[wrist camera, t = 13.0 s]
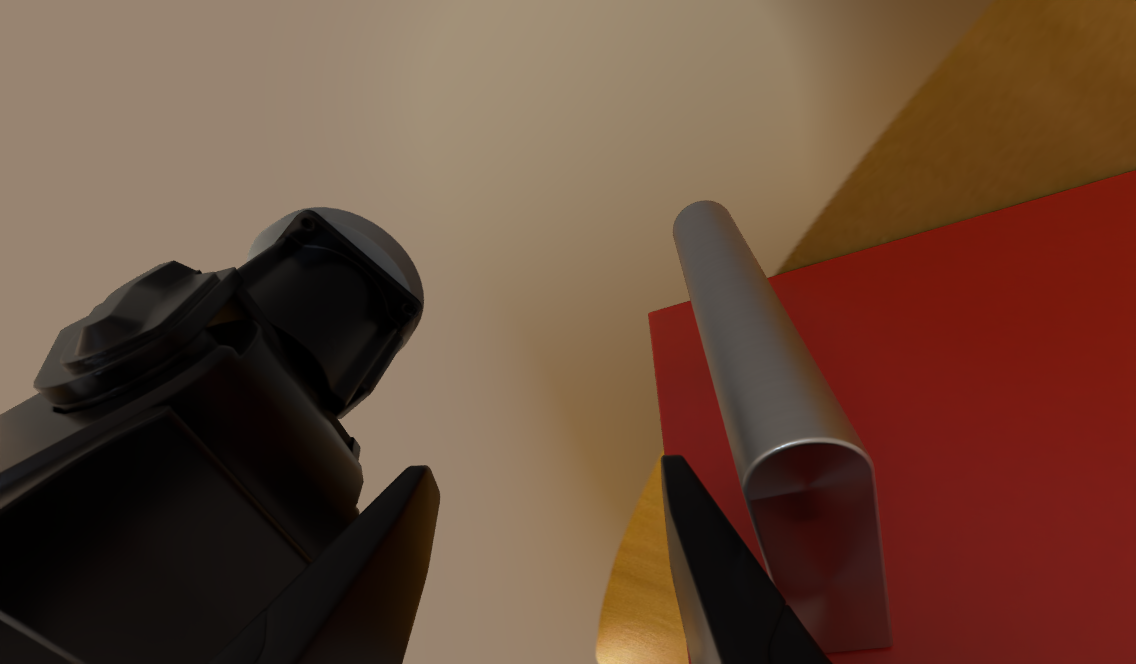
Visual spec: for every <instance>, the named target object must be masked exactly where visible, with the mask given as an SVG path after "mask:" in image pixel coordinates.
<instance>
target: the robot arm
mask: <svg viewBox="0 0 1136 664" xmlns="http://www.w3.org/2000/svg"><path fill="white" fill-rule="evenodd" d="M306 219H309V220H310V221H311V222H312V224H313V226H310V225H309V224H308V223H307V222H306ZM406 304H409V305H411V306H412V307H413V308H414V309H409V308H408V307H407V306H406ZM421 308H422V305H421V302H420V301H419V300H418V299H417V298H416V297H415V296H414V295H413V294H412V293H410V292H409V291H408V290H407V289H406V288H405V287H403V286H402V285H401V284H400V283H399V282H397V281H396V280H395V279H394V278H393V277H392V276H390V275H389V274H388V273H387V272H386V271H385V270H383V269H382V268H381V267H380V266H379V265H378V264H376V263H375V262H374V261H373V260H372V259H371V258H369V257H368V256H367V255H366V254H365V253H364V252H362V251H361V250H360V249H359V248H358V247H356V246H355V245H354V244H353V243H352V242H351V241H349V240H348V239H347V238H346V237H345V236H344V235H342V234H341V233H340V232H339V231H338V230H337V229H335V228H334V227H333V226H332V225H331V224H330V223H328V222H327V221H326V220H325V219H324V218H323V217H321V216H320V215H319V214H318V213H316V212H315V211H312V210H304V211H303V212H301V213H300V214H298V215H297V216H296V217H295V218H294V220H293V221H292V222H291V224H290V225H289V226H288V227H287V229H286V230H285V231H284V232H283V234H282V235H281V236H280V237H279V239H278V240H277V241H276V242H275V244H273V245H272V246H270V247H269V248H267V249H266V250H265V251H263V252H262V253H260V254H259V255H257V256H256V257H254V258H253V259H251V260H250V261H248V262H247V263H246V264H244V265H243V266H241V267H240V268H238V269H237V270H236V268H235V267H232V268H229V269H225V270H221V271H217V272H210V273H203V274H202V272H201V271H200V270H197V271H196V270H193V269H191V268H189V267H187V266H185V265H183V264H181V263H178V262H176V261H170V262H167V263H163V264H160V265H158V266H156V267H154V268H152V269H151V270H149V271H147V272H145V273H143V274H142V275H140V276H138V277H136V278H135V279H133V280H131V281H129V282H128V283H126V284H124V285H123V286H121V287H120V288H118V289H117V290H115V291H114V292H113V293H111V294H110V295H109V296H108V297H107V298H106V300H105V301H104V302H103V303H101V304H99V305H98V306H96V307H95V308H94V309H93V311H92V312H91V313H90V315H89V316H87V317H85V318H83V319H81V320H79V321H77V322H75V323H73V324H71V325H69V326H67V327H65V328H64V329H62V330H61V331H60V333H59V335H58V337H57V339H56V340H55V342H54V344H53V346H52V348H51V350H50V352H49V354H48V356H47V358H46V360H45V362H44V363H43V365H42V367H41V369H40V371H39V373H38V375H37V377H36V379H35V381H34V388H35V389H36V390H37V391H38V392H39V393H38V394H37V395H35V396H33V397H31V398H30V399H28V400H26V401H24V402H22V403H21V404H19V405H17V406H15V407H13V408H12V409H10V410H8V411H6V412H5V413H3V414H1V415H0V664H402V663H403V659H404V655H405V652H406V648H407V645H408V641H409V637H410V634H411V631H412V627H413V623H414V620H415V616H416V612H417V609H418V606H419V602H420V598H421V595H422V591H423V588H424V584H425V580H426V576H427V573H428V568H429V562H430V557H431V551H432V545H433V539H434V533H435V527H436V521H437V515H438V509H439V504H440V492H439V489H438V486H437V484H436V481H435V479H434V476H433V474H432V471H431V469H430V468H429V467H428V466H426V465H424V466H422V465H421V466H410V467H408V468H406V469H405V470H404V471H403V472H402V473H401V474H400V475H399V476H398V477H397V478H396V479H395V480H394V481H393V482H392V483H391V484H390V485H389V486H388V487H387V488H386V489H385V490H384V491H383V492H382V493H381V494H380V495H379V496H378V497H377V498H376V499H375V500H374V501H373V502H372V503H371V504H370V505H369V506H368V507H367V508H366V509H365V510H364V511H363V512H362V513H361V514H360V515H359V510H358V508H357V507H356V504H357V503H358V499H359V496H360V492H361V489H362V485H363V475H362V468H361V465H360V463H359V462H358V460H359V454H360V446H359V444H358V443H357V441H356V440H355V439H354V438H353V437H350V436H349V435H348V433H347V432H346V430H345V429H344V428H343V426H342V425H341V423H340V422H339V420H338V419H341V418H343V417H344V416H345V415H346V414H347V413H349V412H350V411H351V410H352V409H353V408H354V407H356V406H357V405H358V404H359V403H360V402H361V401H363V400H364V399H365V398H366V397H367V396H369V395H370V394H371V392H372V391H373V390H374V388H375V387H376V385H377V383H378V382H379V380H380V379H381V377H382V376H383V374H384V372H385V371H386V369H387V368H388V366H389V365H390V363H391V361H392V360H393V358H394V357H395V355H396V354H397V352H398V350H399V349H400V347H401V346H402V344H403V337H402V336H401V335H400V334H398V333H399V332H400V331H401V330H402V329H403V328H404V327H405V326H406V325H407V324H409V323H410V322H411V321H412V320H413V319H414V318H415V317H416V316H417V315H418V314H419V312H420V310H421ZM661 474H662V492H663V502H664V512H665V522H666V531H667V541H668V551H669V559H670V567H671V573H672V578H673V583H674V587H675V592H676V596H677V601H678V605H679V609H680V614H681V618H682V623H683V627H684V632H685V636H686V641H687V645H688V650H689V654H690V659H691V663H692V664H833V663H832V662H831V661H830V659H829V658H828V657H827V656H826V654H825V653H824V652H823V650H822V649H821V648H820V646H819V645H818V644H817V642H816V641H815V640H814V638H813V637H812V636H811V635H810V633H809V632H808V631H807V629H806V628H805V627H804V625H803V624H802V622H801V621H800V620H799V618H798V617H797V615H796V614H795V612H794V611H793V610H792V608H791V607H790V606H789V605H786V600H785V599H784V597H783V596H782V595H781V593H780V592H779V590H778V589H777V587H776V586H775V585H774V583H773V582H772V580H771V579H770V578H769V576H768V575H767V573H766V572H765V571H764V569H763V568H762V566H761V565H760V564H759V562H758V561H757V559H756V558H755V556H754V555H753V554H752V552H751V551H750V549H749V548H748V547H747V545H746V544H745V542H744V541H743V540H742V538H741V537H740V535H739V534H738V533H737V531H736V530H735V528H734V527H733V526H732V524H731V523H730V521H729V520H728V518H727V517H726V516H725V514H724V513H723V511H722V510H721V509H720V507H719V506H718V504H717V503H716V502H715V500H714V499H713V497H712V496H711V495H710V493H709V492H708V490H707V489H706V487H705V486H704V485H703V483H702V482H701V480H700V479H699V478H698V476H697V475H696V473H695V472H694V471H693V469H692V468H691V466H690V465H689V464H688V462H687V461H686V459H685V458H684V457H683V456H682V455H679V454H677V455H663V456H662V457H661Z"/></svg>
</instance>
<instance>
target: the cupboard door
mask: <svg viewBox="0 0 1136 664" xmlns="http://www.w3.org/2000/svg"><path fill="white" fill-rule="evenodd" d="M673 236H674V240H675V244H676V248H677V251H678V255H679V258H680V263H681V266H682V270H683V274H684V277H685V281H686V285H687V289H688V292H689V296H690V300H691V301H687V302H684V303H681V304H677V305H674V306H670V307H667V308H664V309H660V310H657V311H653V312H650V313H649V314H648V317H649V325H650V334H651V343H652V351H653V360H654V368H655V377H656V385H657V394H658V402H659V411H660V420H661V428H662V436H663V445H664V454H665V455H677V454H679V455H682V456H683V457H684V458H685V459H686V461H687V462H688V464H689V465H690V466H691V468H692V469H693V471H694V472H695V473H696V475H697V476H698V478H699V479H700V480H701V482H702V483H703V485H704V486H705V487H706V489H707V490H708V492H709V493H710V495H711V496H712V497H713V499H714V500H715V502H716V503H717V504H718V506H719V507H720V509H721V510H722V511H723V513H724V514H725V516H726V517H727V518H728V520H729V521H730V523H731V524H732V526H733V527H734V528H735V530H736V531H737V533H738V534H739V535H740V537H741V538H742V540H743V541H744V542H745V544H746V545H747V547H748V548H749V549H750V551H751V552H752V554H753V555H754V556H755V558H756V559H757V561H758V562H759V564H760V565H761V566H762V568H763V569H764V571H765V572H766V573H767V575H768V576H769V578H770V579H771V580H772V582H773V583H774V585H775V586H776V587H777V589H778V590H779V592H780V593H781V595H782V596H783V597H784V599H785V600H786V605H789V606H790V607H791V608H792V610H793V611H794V612H795V614H796V615H797V617H798V618H799V620H800V621H801V622H802V624H803V625H804V627H805V628H806V629H807V631H808V632H809V633H810V635H811V636H812V637H813V638H814V640H815V641H816V642H817V644H818V645H819V646H820V648H821V649H822V650H823V652H824V653H825V654H826V656H827V657H828V658H829V659H830V661H831V662H832V663H833V664H1136V170H1134V171H1131V172H1128V173H1124V174H1121V175H1117V176H1114V177H1110V178H1107V179H1104V180H1100V181H1097V182H1093V183H1090V184H1087V185H1083V186H1080V187H1076V188H1073V189H1070V190H1066V191H1063V192H1059V193H1056V194H1052V195H1049V196H1046V197H1042V198H1039V199H1035V200H1032V201H1029V202H1025V203H1022V204H1018V205H1015V206H1012V207H1008V208H1005V209H1001V210H998V211H994V212H991V213H988V214H984V215H981V216H977V217H974V218H971V219H967V220H964V221H960V222H957V223H954V224H950V225H947V226H943V227H940V228H936V229H933V230H930V231H926V232H923V233H919V234H916V235H913V236H909V237H906V238H902V239H899V240H895V241H892V242H889V243H885V244H882V245H878V246H875V247H872V248H868V249H865V250H861V251H858V252H855V253H851V254H848V255H844V256H841V257H837V258H834V259H831V260H827V261H824V262H820V263H817V264H814V265H810V266H807V267H803V268H800V269H797V270H793V271H790V272H786V273H783V274H779V275H776V276H773V277H769V278H766V276H765V274H764V272H763V271H762V269H761V267H760V265H759V264H758V262H757V260H756V259H755V257H754V255H753V254H752V252H751V250H750V248H749V247H748V245H747V243H746V241H745V239H744V238H743V236H742V234H741V233H740V231H739V229H738V227H737V226H736V224H735V222H734V221H733V219H732V217H731V215H730V214H729V212H728V211H727V209H726V208H725V207H723V206H722V205H720V204H719V203H716V202H713V201H699V202H695V203H693V204H691V205H689V206H687V207H686V208H684V209H683V210H682V211H681V212H680V214H679V215H678V216H677V218H676V220H675V223H674V227H673ZM686 642H687V641H686ZM687 651H688V660H689V664H692V663H691V659H690V654H689V650H688V645H687Z"/></svg>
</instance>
